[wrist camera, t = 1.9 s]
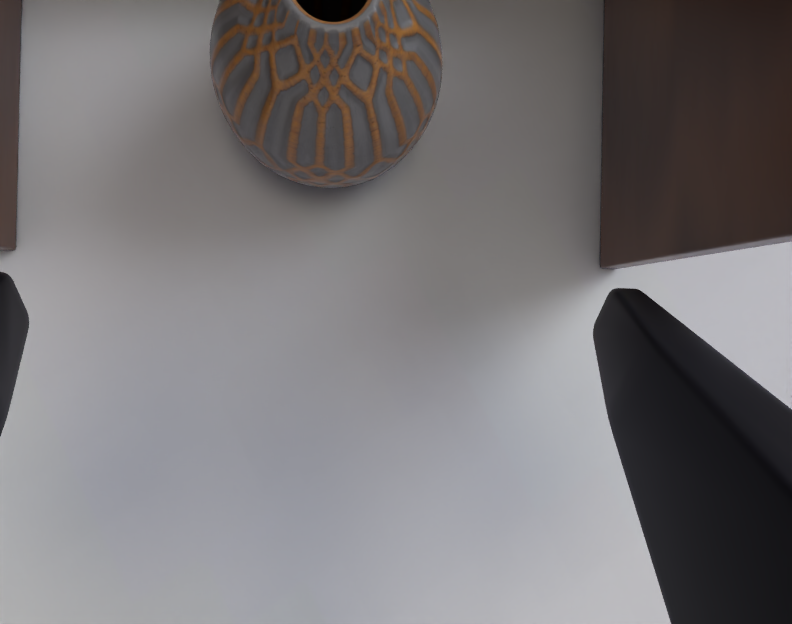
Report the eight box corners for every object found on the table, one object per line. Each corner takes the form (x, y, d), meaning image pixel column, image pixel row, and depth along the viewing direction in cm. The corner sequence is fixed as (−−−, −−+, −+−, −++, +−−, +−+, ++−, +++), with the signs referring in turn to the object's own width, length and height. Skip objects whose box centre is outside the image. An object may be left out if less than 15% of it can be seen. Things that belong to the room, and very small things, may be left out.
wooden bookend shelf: (622, 272, 24) (861, 239, 13) (-13, 254, 21) (-347, 193, 11) (627, -32, 24) (868, -305, 13) (-5, -90, 21) (-328, -491, 11)
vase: (285, 236, 22) (262, 185, 14) (195, 62, 22) (113, -105, 13) (452, 154, 23) (532, 56, 14) (368, -16, 23) (397, -221, 14)
